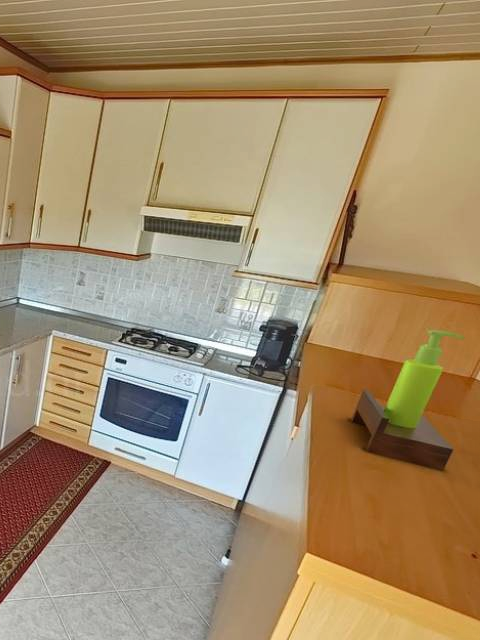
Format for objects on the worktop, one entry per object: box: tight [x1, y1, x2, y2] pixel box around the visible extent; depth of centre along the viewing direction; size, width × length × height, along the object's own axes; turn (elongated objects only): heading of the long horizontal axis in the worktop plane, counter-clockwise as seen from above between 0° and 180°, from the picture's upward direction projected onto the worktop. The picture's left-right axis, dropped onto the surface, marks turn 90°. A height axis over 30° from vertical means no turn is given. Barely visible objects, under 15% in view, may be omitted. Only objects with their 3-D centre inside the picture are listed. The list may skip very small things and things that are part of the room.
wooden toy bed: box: [350, 389, 455, 472], centre depth 104 cm, size 12×20×8 cm, turn 151°
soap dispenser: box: [384, 329, 465, 428], centre depth 100 cm, size 6×7×20 cm
